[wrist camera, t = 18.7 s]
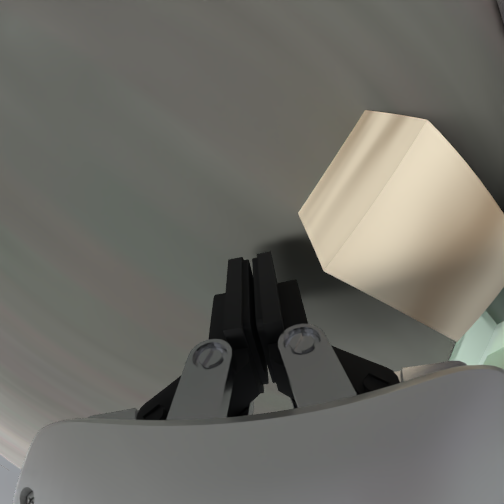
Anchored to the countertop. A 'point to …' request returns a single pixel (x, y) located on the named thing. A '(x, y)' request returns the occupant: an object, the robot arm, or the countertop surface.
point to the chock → (408, 223)
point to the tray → (484, 338)
